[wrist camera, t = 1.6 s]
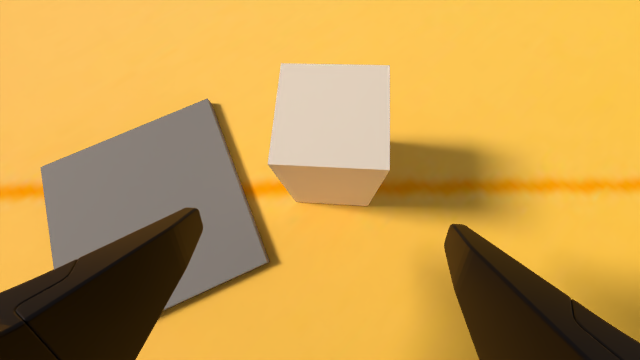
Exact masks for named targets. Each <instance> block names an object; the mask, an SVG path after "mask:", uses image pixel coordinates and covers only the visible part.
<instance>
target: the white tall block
mask: <svg viewBox="0 0 640 360" xmlns="http://www.w3.org/2000/svg"><path fill="white" fill-rule="evenodd" d="M268 165H269V167H270V168H271V169H272V171H273V172H274V173H275V175H276V176H277V177H278V179H279V180H280V181H281V183H282V184H283V185H284V187H285V188H286V189H287V191H288V192H289V193H290V195H291V196H292V197H293V199H294V200H295V201H296V202H306V203H323V204H340V205H357V206H368V205H369V203H370V202H371V200H372V198H373V197H374V195H375V193H376V192H377V190H378V188H379V187H380V185H381V184H382V182H383V180H384V179H385V177H386V175H387V174H388V172H389V171H390V65H340V64H283V63H281V68H280V76H279V83H278V91H277V98H276V106H275V113H274V121H273V128H272V136H271V144H270V151H269V159H268Z"/></svg>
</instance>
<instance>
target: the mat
mask: <svg viewBox="0 0 640 360" xmlns="http://www.w3.org/2000/svg"><path fill="white" fill-rule="evenodd" d="M41 173H42V181H43V189H44V196H45V204H46V212H47V219H48V227H49V235H50V242H51V250H52V258H53V266H54V269H56V268H58V267H60V266H63V265H65V264H67V263H69V262H71V261H73V260H75V259H79V258H80V257H82V256H84V255H86V254H88V253H90V252H92V251H95V250H97V249H99V248H101V247H103V246H105V245H107V244H109V243H111V242H114V241H116V240H118V239H120V238H122V237H124V236H126V235H128V234H131V233H133V232H135V231H137V230H139V229H141V228H143V227H145V226H148V225H150V224H152V223H154V222H156V221H158V220H160V219H162V218H164V217H167V216H169V215H171V214H173V213H175V212H177V211H179V210H181V209H184V208H186V207H190V208H197V209H198V210H199V212H200V216H201V220H202V223H203V232H202V234H201V236H200V239H199V241H198V243H197V246H196V248H195V250H194V253H193V255H192V257H191V260H190V262H189V264H188V266H187V268H186V270H185V272H184V274H183V276H182V278H181V279H180V281H179V283H178V285H177V287H176V288H175V290H174V292H173V294H172V295H171V297H170V299H169V301H168V303H167V304H166V306H165V308H164V310H166V309H168V308H170V307H173V306H175V305H177V304H179V303H181V302H183V301H186V300H188V299H190V298H192V297H194V296H197V295H199V294H201V293H203V292H205V291H207V290H210V289H212V288H214V287H216V286H218V285H221V284H223V283H225V282H227V281H229V280H231V279H234V278H236V277H238V276H240V275H242V274H245V273H247V272H249V271H251V270H253V269H255V268H258V267H260V266H262V265H264V264H266V263H269V259H268V256H267V253H266V251H265V248H264V245H263V243H262V240H261V237H260V234H259V232H258V229H257V226H256V223H255V221H254V218H253V215H252V213H251V210H250V207H249V204H248V202H247V199H246V196H245V194H244V191H243V188H242V185H241V183H240V180H239V177H238V175H237V172H236V169H235V166H234V164H233V161H232V158H231V155H230V153H229V150H228V147H227V145H226V142H225V139H224V136H223V134H222V131H221V128H220V126H219V123H218V120H217V117H216V115H215V112H214V109H213V106H212V104H211V102H210V101H209V100H208V99H205V100H203V101H200V102H198V103H195V104H193V105H190V106H188V107H186V108H183V109H181V110H178V111H176V112H173V113H171V114H169V115H166V116H164V117H161V118H159V119H156V120H154V121H152V122H149V123H147V124H144V125H142V126H140V127H137V128H135V129H132V130H130V131H127V132H125V133H123V134H120V135H118V136H115V137H113V138H110V139H108V140H106V141H103V142H101V143H98V144H96V145H93V146H91V147H89V148H86V149H84V150H81V151H79V152H76V153H74V154H72V155H69V156H67V157H64V158H62V159H59V160H57V161H55V162H52V163H50V164H47V165H45V166H42V167H41ZM164 310H163V311H164Z"/></svg>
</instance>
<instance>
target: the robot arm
mask: <svg viewBox="0 0 640 360" xmlns="http://www.w3.org/2000/svg"><path fill="white" fill-rule="evenodd" d="M202 232H203V223H202V220H201V216H200V212H199V210H198V209H197V208H190V207H186V208H184V209H181V210H179V211H177V212H175V213H173V214H171V215H169V216H167V217H164V218H162V219H160V220H158V221H156V222H154V223H152V224H150V225H148V226H145V227H143V228H141V229H139V230H137V231H135V232H133V233H131V234H128V235H126V236H124V237H122V238H120V239H118V240H116V241H114V242H111V243H109V244H107V245H105V246H103V247H101V248H99V249H97V250H95V251H92V252H90V253H88V254H86V255H84V256H82V257H80V258H79V259H75V260H73V261H71V262H69V263H67V264H65V265H63V266H60V267H58V268H56V269H54V270H52V271H49V272H47V273H45V274H43V275H41V276H38V277H36V278H34V279H32V280H29V281H27V282H25V283H22V284H20V285H18V286H15V287H13V288H11V289H8V290H6V291H3V292H1V293H0V360H135V359H136V358H137V356H138V354H139V352H140V351H141V349H142V347H143V345H144V343H145V342H146V340H147V338H148V336H149V335H150V333H151V331H152V329H153V327H154V326H155V324H156V322H157V320H158V319H159V317H160V315H161V313H162V311H163V310H164V308H165V306H166V304H167V303H168V301H169V299H170V297H171V295H172V294H173V292H174V290H175V288H176V287H177V285H178V283H179V281H180V279H181V278H182V276H183V274H184V272H185V270H186V268H187V266H188V264H189V262H190V260H191V257H192V255H193V253H194V250H195V248H196V246H197V243H198V241H199V239H200V236H201V234H202ZM444 248H445V253H446V257H447V261H448V266H449V270H450V274H451V278H452V283H453V286H454V290H455V293H456V296H457V299H458V302H459V304H460V307H461V310H462V313H463V316H464V318H465V321H466V324H467V327H468V329H469V332H470V335H471V338H472V341H473V343H474V346H475V349H476V352H477V354H478V357H479V360H640V343H639V342H637V341H636V340H634V339H633V338H631V337H629V336H628V335H626V334H625V333H623V332H621V331H620V330H618V329H617V328H615V327H613V326H612V325H610V324H609V323H607V322H606V321H604V320H603V319H601V318H600V317H598V316H597V315H595V314H594V313H592V312H591V311H589V310H588V309H587V308H585V307H584V306H582V305H581V304H579V303H578V302H576V301H575V300H573V299H572V300H571V298H570V297H569V296H568V295H566V294H565V293H563V292H562V291H560V290H559V289H557V288H556V287H554V286H553V285H551V284H550V283H549V282H547V281H546V280H544V279H543V278H541V277H540V276H538V275H537V274H535V273H534V272H532V271H531V270H530V269H528V268H527V267H525V266H524V265H522V264H521V263H519V262H518V261H516V260H515V259H514V258H512V257H511V256H509V255H508V254H506V253H505V252H503V251H502V250H500V249H499V248H497V247H496V246H495V245H493V244H492V243H490V242H489V241H487V240H486V239H484V238H483V237H481V236H480V235H478V234H477V233H476V232H474V231H473V230H471V229H470V228H468V227H467V226H465V225H462V224H452V225H450V227H449V230H448V233H447V236H446V239H445V243H444Z"/></svg>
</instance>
